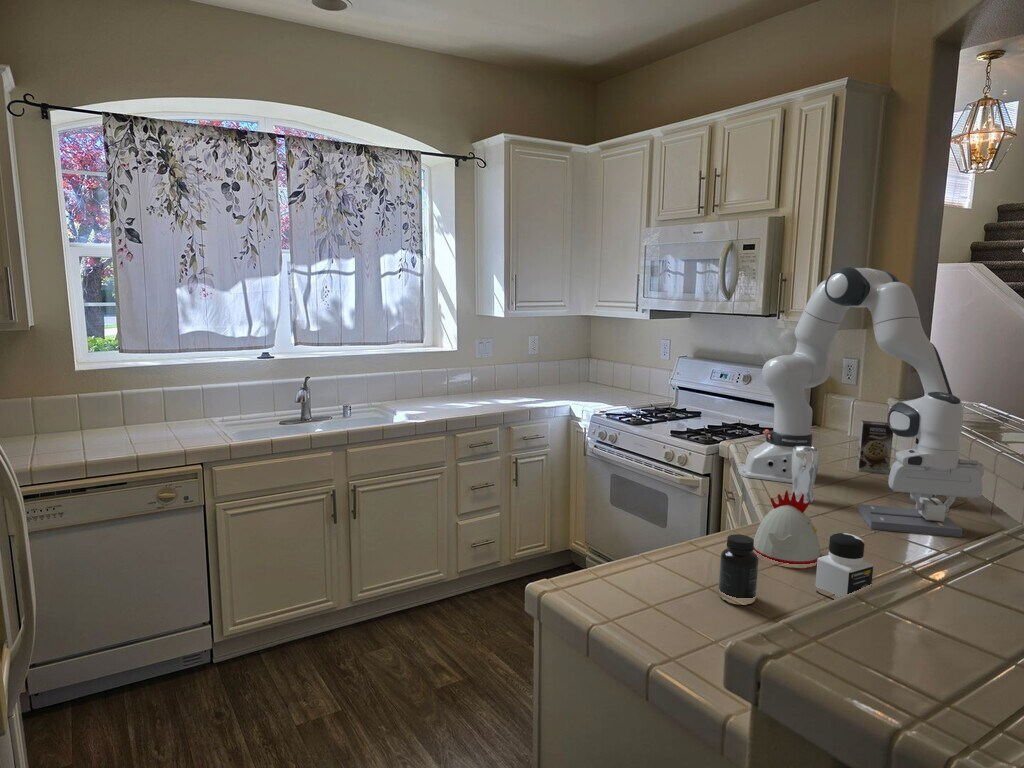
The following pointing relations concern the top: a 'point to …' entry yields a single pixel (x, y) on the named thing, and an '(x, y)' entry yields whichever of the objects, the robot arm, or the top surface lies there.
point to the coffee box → (874, 447)
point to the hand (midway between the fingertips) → (931, 510)
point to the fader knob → (933, 509)
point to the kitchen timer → (788, 533)
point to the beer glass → (804, 471)
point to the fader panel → (906, 521)
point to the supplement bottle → (739, 567)
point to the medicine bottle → (844, 566)
